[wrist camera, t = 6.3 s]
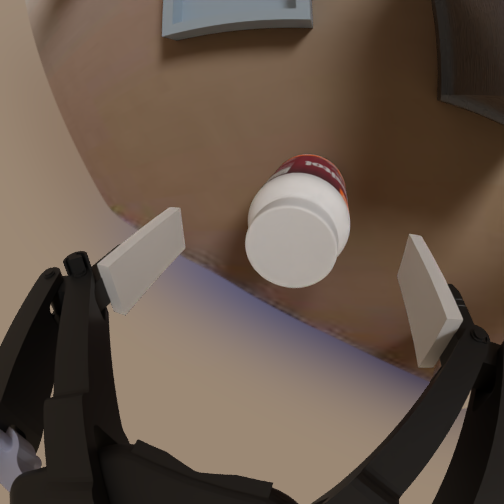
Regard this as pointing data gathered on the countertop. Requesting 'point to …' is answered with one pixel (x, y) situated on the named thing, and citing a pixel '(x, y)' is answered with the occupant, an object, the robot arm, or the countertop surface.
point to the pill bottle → (298, 222)
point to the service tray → (232, 16)
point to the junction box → (471, 55)
